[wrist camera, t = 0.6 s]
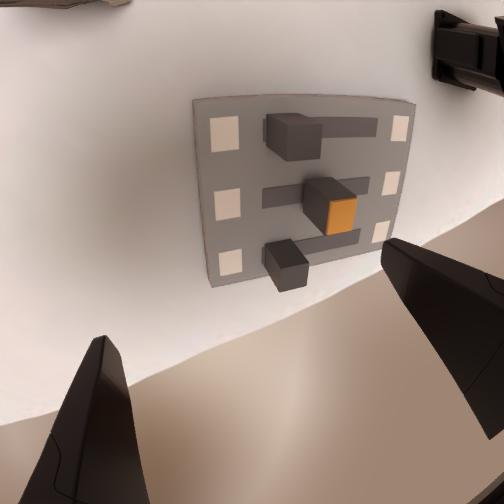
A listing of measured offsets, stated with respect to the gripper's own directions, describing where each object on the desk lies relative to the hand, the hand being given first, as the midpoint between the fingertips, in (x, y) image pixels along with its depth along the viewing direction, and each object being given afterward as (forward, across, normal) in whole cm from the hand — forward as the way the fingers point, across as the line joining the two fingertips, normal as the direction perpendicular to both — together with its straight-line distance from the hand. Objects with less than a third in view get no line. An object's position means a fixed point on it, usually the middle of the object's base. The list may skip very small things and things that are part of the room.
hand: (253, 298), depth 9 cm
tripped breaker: (+11, -7, +4) cm, 14 cm away
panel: (+12, -8, +4) cm, 15 cm away
